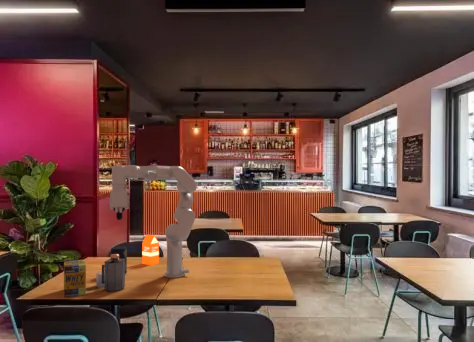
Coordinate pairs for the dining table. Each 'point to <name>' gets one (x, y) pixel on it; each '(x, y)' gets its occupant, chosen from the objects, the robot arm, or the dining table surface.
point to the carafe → (114, 275)
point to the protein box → (74, 278)
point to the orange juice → (150, 250)
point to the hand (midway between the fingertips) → (119, 219)
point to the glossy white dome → (99, 279)
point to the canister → (121, 254)
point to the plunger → (114, 257)
